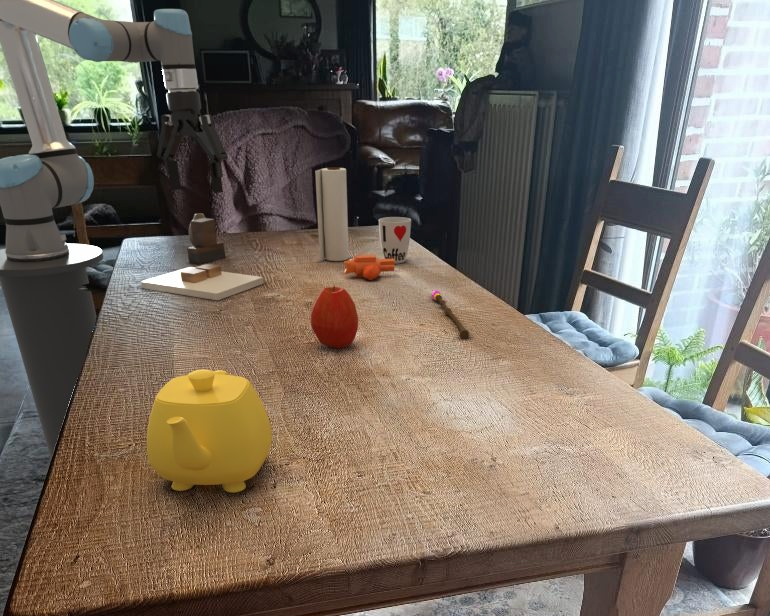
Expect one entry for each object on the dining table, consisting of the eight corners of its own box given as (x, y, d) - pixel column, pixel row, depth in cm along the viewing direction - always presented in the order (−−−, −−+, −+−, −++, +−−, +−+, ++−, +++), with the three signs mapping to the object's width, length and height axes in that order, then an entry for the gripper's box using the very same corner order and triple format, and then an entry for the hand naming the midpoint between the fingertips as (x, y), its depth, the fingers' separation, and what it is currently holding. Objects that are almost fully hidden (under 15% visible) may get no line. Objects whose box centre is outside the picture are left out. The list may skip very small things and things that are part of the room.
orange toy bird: (393, 248, 167) (342, 250, 165) (398, 266, 162) (346, 268, 160) (391, 268, 170) (342, 270, 169) (397, 285, 166) (346, 288, 164)
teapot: (285, 443, 92) (277, 348, 86) (249, 526, 75) (235, 416, 69) (183, 440, 93) (166, 346, 86) (124, 522, 76) (98, 413, 70)
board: (142, 288, 160) (140, 281, 159) (190, 273, 172) (189, 266, 171) (217, 300, 151) (216, 293, 150) (263, 283, 163) (262, 277, 162)
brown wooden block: (181, 281, 159) (180, 271, 158) (193, 277, 162) (192, 268, 161) (195, 283, 157) (193, 274, 156) (207, 279, 160) (206, 270, 159)
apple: (307, 352, 122) (303, 289, 117) (318, 337, 129) (315, 277, 124) (354, 354, 121) (352, 291, 116) (362, 339, 128) (361, 278, 123)
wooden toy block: (189, 263, 181) (183, 222, 176) (215, 255, 188) (210, 216, 183) (199, 264, 179) (193, 223, 174) (225, 256, 187) (220, 217, 182)
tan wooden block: (196, 276, 163) (195, 267, 162) (208, 272, 166) (207, 263, 165) (210, 278, 161) (209, 269, 160) (221, 274, 164) (220, 265, 163)
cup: (376, 264, 178) (375, 222, 173) (382, 257, 185) (381, 216, 180) (408, 265, 177) (408, 222, 172) (412, 258, 184) (413, 217, 179)
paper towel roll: (349, 256, 186) (346, 166, 175) (348, 261, 181) (345, 169, 170) (322, 256, 186) (317, 166, 175) (319, 261, 181) (315, 169, 170)
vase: (206, 251, 193) (201, 216, 188) (185, 249, 195) (180, 215, 190) (221, 246, 198) (217, 212, 193) (201, 244, 200) (196, 211, 196)
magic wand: (469, 342, 129) (435, 296, 154) (473, 332, 128) (438, 287, 153) (458, 338, 128) (425, 293, 153) (462, 328, 127) (429, 284, 152)
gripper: (131, 91, 166) (148, 190, 177) (213, 90, 156) (226, 195, 167) (154, 91, 172) (170, 186, 183) (235, 90, 161) (246, 191, 172)
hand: (196, 191), depth 175 cm, fingers open, 13 cm apart
